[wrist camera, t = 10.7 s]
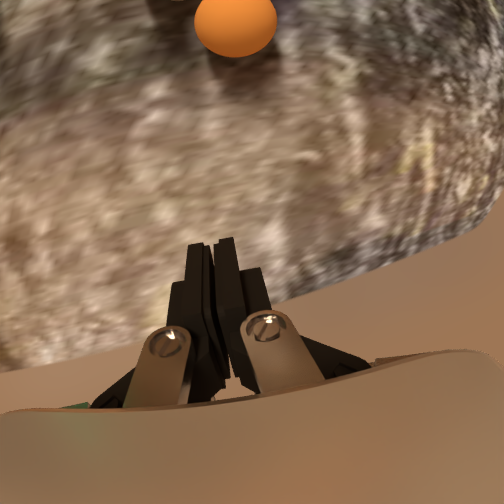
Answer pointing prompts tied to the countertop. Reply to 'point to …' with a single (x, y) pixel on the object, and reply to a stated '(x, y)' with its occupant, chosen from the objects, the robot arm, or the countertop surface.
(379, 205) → the countertop surface
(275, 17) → the ball
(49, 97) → the countertop surface
